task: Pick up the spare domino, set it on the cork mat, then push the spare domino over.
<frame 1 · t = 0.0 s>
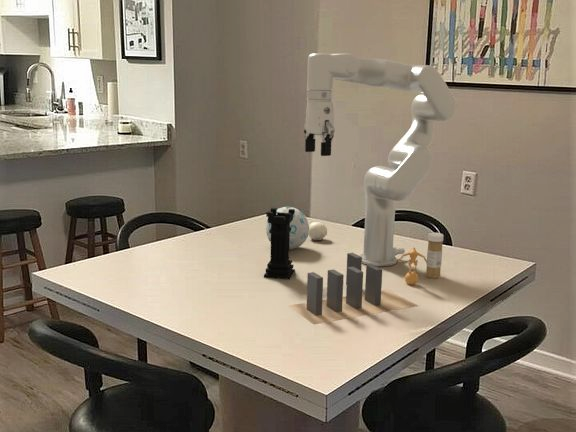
hand: (317, 153, 197), 37 cm above the table, tool pointing down, fingers open, 9 cm apart
domino 3: (353, 305, 173), resting on cork mat
domino 2: (372, 302, 176), resting on cork mat
chess piece: (279, 275, 200), on the table
cream round ball: (317, 240, 241), on the table
cork mat: (353, 307, 173), on the table
puzzle ball: (287, 249, 228), on the table
domino 5: (314, 312, 168), resting on cork mat
figurine: (411, 286, 191), on the table
sprinkles bottle: (432, 276, 201), on the table
spare domino: (353, 288, 188), on the table
domino 4: (334, 308, 171), resting on cork mat
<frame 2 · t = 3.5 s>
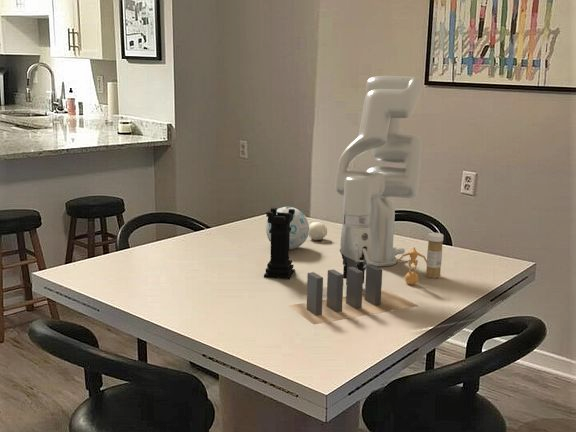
hand: (353, 280, 188), 2 cm above the table, tool pointing down, fingers closed on spare domino, 4 cm apart
spare domino: (353, 288, 188), on the table, touching gripper
everything else where it was.
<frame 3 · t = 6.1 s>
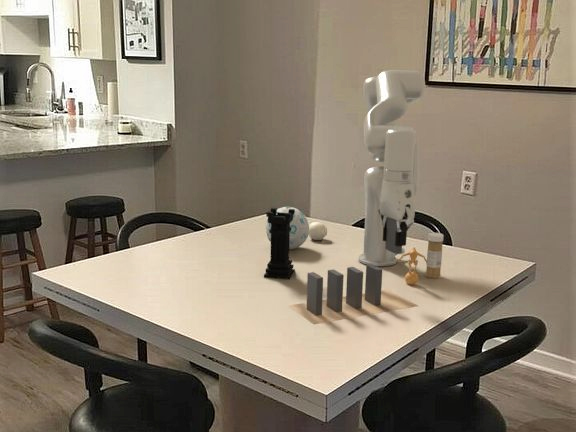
hand: (394, 242, 175), 17 cm above the table, tool pointing down, fingers closed on spare domino, 4 cm apart
spare domino: (393, 251, 175), point 14 cm above the table, touching gripper
everything else where it was.
when the fingers open (3 cm above the table, at t = 8.8 s): spare domino stays where it is, resting on cork mat.
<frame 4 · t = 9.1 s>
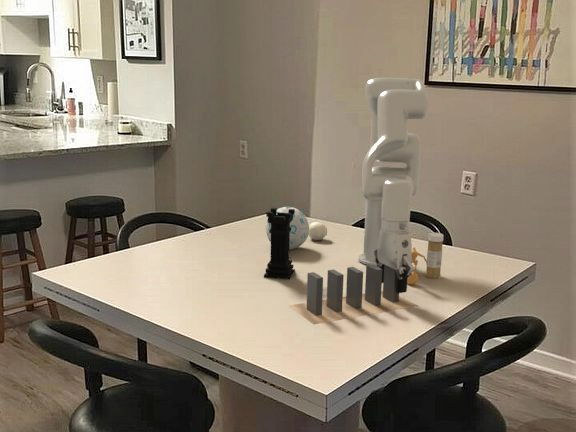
hand: (391, 287, 178), 4 cm above the table, tool pointing down, fingers open, 8 cm apart
spare domino: (390, 299, 179), resting on cork mat
everything else where it was.
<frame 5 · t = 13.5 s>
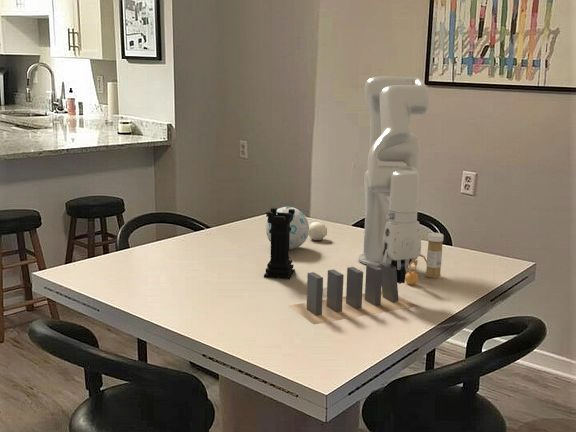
hand: (398, 281, 178), 5 cm above the table, tool pointing down, fingers closed
spare domino: (390, 298, 178), point 1 cm above the table, tilted 9°, touching cork mat
everything else where it was.
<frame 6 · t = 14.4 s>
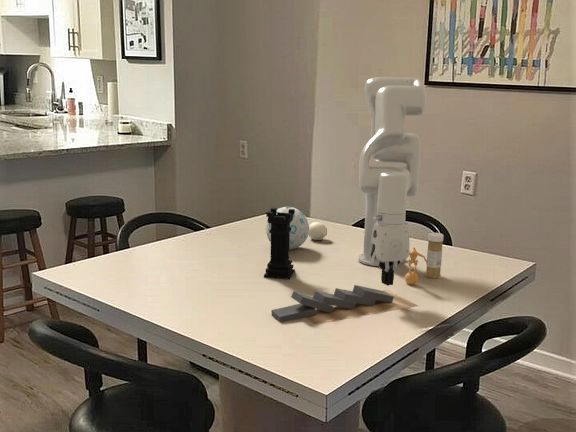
hand: (387, 283, 177), 5 cm above the table, tool pointing down, fingers closed
domino 3: (349, 303, 173), point 1 cm above the table, tilted 72°, touching cork mat
domino 2: (369, 299, 175), point 1 cm above the table, tilted 73°, touching cork mat, spare domino
domino 5: (310, 308, 167), point 1 cm above the table, tilted 93°, touching cork mat
spare domino: (387, 296, 178), point 1 cm above the table, tilted 72°, touching cork mat, domino 2
domino 4: (327, 306, 170), point 1 cm above the table, tilted 66°, touching cork mat
everything else where it was.
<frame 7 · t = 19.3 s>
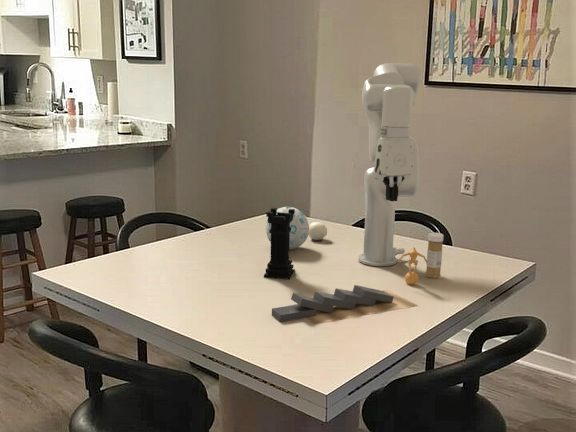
hand: (391, 200, 178), 27 cm above the table, tool pointing down, fingers closed
domino 3: (349, 303, 173), point 1 cm above the table, tilted 73°, touching cork mat, domino 2, domino 4
domino 2: (369, 299, 175), point 1 cm above the table, tilted 73°, touching cork mat, domino 3, spare domino
domino 5: (310, 309, 167), point 1 cm above the table, tilted 90°, touching cork mat, domino 4
domino 4: (327, 306, 170), point 1 cm above the table, tilted 69°, touching cork mat, domino 3, domino 5
everything else where it was.
at the end: domino 5 tilted 90°; domino 3 tilted 73°; the gripper is holding nothing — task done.
